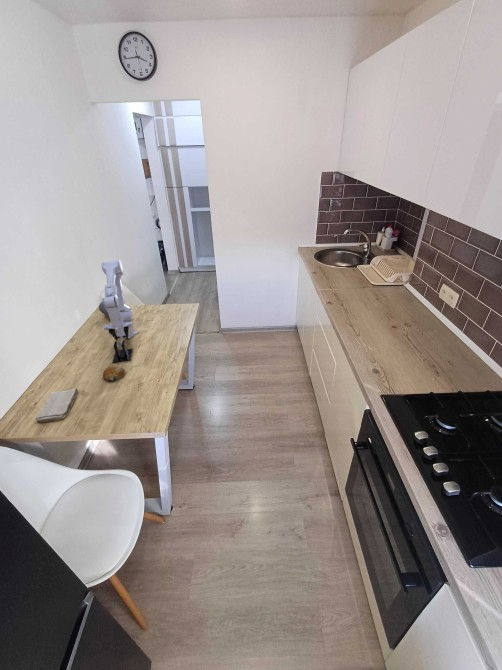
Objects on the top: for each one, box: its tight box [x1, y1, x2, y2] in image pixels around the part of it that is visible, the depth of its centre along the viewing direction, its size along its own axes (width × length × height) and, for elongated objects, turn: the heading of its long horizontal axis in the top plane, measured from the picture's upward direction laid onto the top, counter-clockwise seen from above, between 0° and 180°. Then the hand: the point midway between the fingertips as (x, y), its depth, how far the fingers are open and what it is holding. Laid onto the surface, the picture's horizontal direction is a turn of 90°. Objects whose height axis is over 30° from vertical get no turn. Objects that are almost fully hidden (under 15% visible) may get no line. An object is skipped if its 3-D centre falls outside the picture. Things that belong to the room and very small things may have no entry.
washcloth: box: [35, 388, 79, 423], centre depth 139 cm, size 12×18×3 cm, turn 9°
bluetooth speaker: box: [98, 301, 126, 318], centre depth 205 cm, size 23×9×10 cm, turn 49°
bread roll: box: [102, 363, 126, 383], centre depth 155 cm, size 10×10×8 cm
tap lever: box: [117, 336, 126, 350], centre depth 169 cm, size 10×5×2 cm, turn 12°
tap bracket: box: [112, 340, 134, 364], centre depth 168 cm, size 11×9×9 cm
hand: (122, 339), depth 174 cm, fingers closed on tap lever, 5 cm apart
